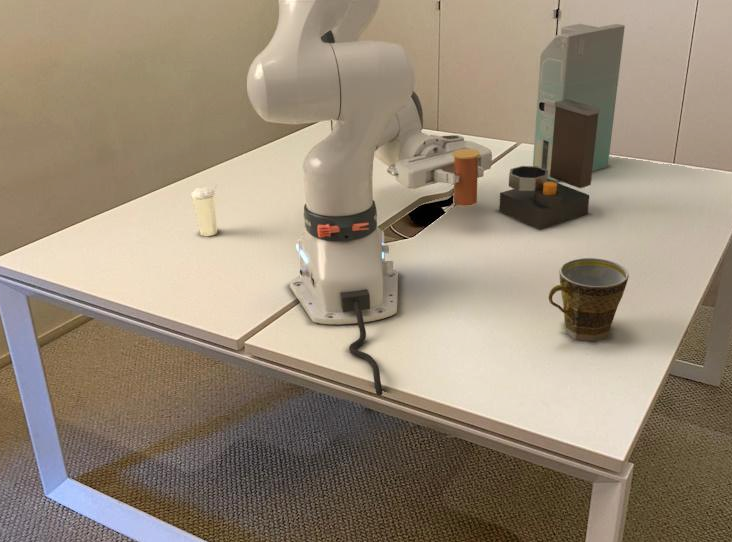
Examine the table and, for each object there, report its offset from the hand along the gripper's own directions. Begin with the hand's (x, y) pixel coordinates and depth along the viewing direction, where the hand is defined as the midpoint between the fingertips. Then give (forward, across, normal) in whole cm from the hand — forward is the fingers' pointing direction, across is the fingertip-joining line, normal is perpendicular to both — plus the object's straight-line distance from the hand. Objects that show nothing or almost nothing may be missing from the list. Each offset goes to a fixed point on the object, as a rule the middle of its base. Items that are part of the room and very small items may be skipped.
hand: (469, 176), depth 158 cm
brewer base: (+2, +18, +11) cm, 21 cm away
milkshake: (-30, -41, +11) cm, 52 cm away
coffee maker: (+3, +18, +5) cm, 18 cm away
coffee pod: (-1, 0, +5) cm, 5 cm away
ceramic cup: (+42, -12, +11) cm, 45 cm away
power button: (+6, +15, +5) cm, 17 cm away
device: (-13, +40, +11) cm, 44 cm away
